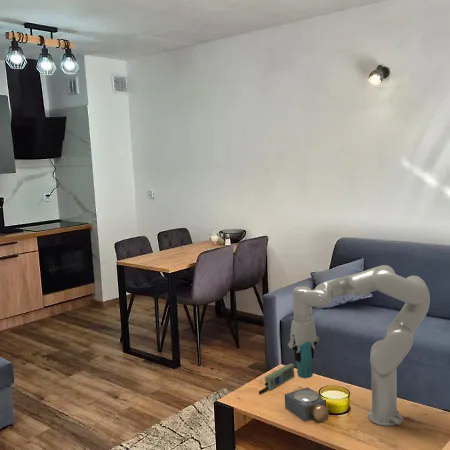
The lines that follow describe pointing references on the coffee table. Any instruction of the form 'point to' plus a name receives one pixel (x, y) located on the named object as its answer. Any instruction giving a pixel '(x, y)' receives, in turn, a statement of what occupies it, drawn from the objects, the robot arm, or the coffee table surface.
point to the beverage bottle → (305, 361)
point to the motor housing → (306, 405)
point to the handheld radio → (278, 377)
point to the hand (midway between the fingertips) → (304, 358)
